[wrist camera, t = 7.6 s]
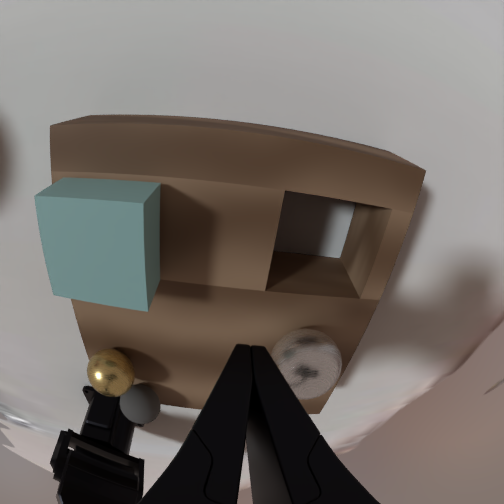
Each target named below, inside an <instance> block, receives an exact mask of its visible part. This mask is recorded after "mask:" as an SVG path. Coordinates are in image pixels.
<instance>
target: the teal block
mask: <svg viewBox="0 0 504 504" xmlns="http://www.w3.org/2000/svg"><path fill="white" fill-rule="evenodd" d="M160 187H161V183H155V182H142V181H127V180H111V179H91V178H64V177H63V178H62V179H60V180H58V181H57V182H55V183H54V184H52V185H50V186H49V187H47V188H46V189H44V190H43V191H41V192H40V193H38V194H36V195H35V205H36V212H37V219H38V225H39V231H40V237H41V242H42V247H43V252H44V257H45V262H46V266H47V271H48V275H49V279H50V283H51V287H52V290H53V294H54V295H56V296H61V297H66V298H71V299H76V300H81V301H86V302H92V303H97V304H103V305H108V306H114V307H120V308H126V309H133V310H139V311H146V312H148V311H149V308H150V305H151V303H152V300H153V297H154V295H155V292H156V289H157V287H158V284H159V281H160Z"/></svg>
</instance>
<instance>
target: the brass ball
mask: <svg viewBox="0 0 504 504" xmlns="http://www.w3.org/2000/svg"><path fill="white" fill-rule="evenodd" d="M87 374H88V379H89V381H90V383H91V385H92V386H93V388H94V389H95V390H96V391H98V392H99V393H100V394H102V395H105V396H108V397H118V396H122V395H124V394H125V393H127V392H128V391H129V390H130V389H131V387H132V385H133V383H134V379H135V371H134V367H133V364H132V362H131V361H130V359H129V358H128V357H127V356H126V355H125V354H123V353H122V352H120V351H118V350H115V349H103V350H100V351H98V352H96V353H95V354H94V355H93V356H92V357H91V359H90V360H89V363H88V367H87Z"/></svg>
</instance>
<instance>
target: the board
mask: <svg viewBox="0 0 504 504" xmlns="http://www.w3.org/2000/svg"><path fill="white" fill-rule="evenodd" d="M50 156H51V175H52V184H54V183H55V182H57V181H58V180H60V179H62V178H63V177H64V178H91V179H111V180H127V181H142V182H155V183H161V187H160V281H159V284H158V287H157V289H156V292H155V295H154V297H153V300H152V303H151V305H150V308H149V311H148V312H146V311H139V310H133V309H126V308H120V307H114V306H108V305H103V304H97V303H92V302H86V301H81V300H76V299H71V301H72V305H73V308H74V312H75V316H76V319H77V323H78V326H79V330H80V333H81V336H82V340H83V343H84V346H85V349H86V352H87V355H88V358H89V360H90V359H91V357H92V356H93V355H94V354H95V353H96V352H98V351H100V350H103V349H115V350H118V351H120V352H122V353H123V354H125V355H126V356H127V357H128V358H129V359H130V361H131V362H132V364H133V367H134V371H135V379H134V383H133V385H135V384H142V385H146V386H148V387H150V388H151V389H152V390H154V391H155V393H156V394H157V395H158V397H159V400H160V404H164V405H171V406H178V407H185V408H193V409H202V408H203V407H204V405H205V403H206V401H207V399H208V397H209V395H210V393H211V391H212V390H213V388H214V386H215V384H216V382H217V380H218V378H219V376H220V374H221V372H222V370H223V368H224V367H225V365H226V363H227V361H228V359H229V357H230V355H231V353H232V351H233V349H234V347H235V345H236V344H238V343H239V344H248V345H250V346H251V345H260V346H264V347H266V349H267V351H268V352H269V354H270V355H271V352H272V350H273V348H274V346H275V345H276V343H277V342H278V341H279V340H280V339H281V338H282V337H283V336H285V335H286V334H288V333H290V332H292V331H295V330H298V329H314V330H318V331H321V332H323V333H325V334H326V335H328V336H329V337H330V338H331V339H332V340H333V341H334V342H335V343H336V345H337V346H338V349H339V351H340V354H341V359H342V367H341V372H340V375H339V377H338V379H337V381H336V383H335V384H334V386H333V387H332V388H331V389H330V390H329V391H327V392H326V393H325V394H323V395H321V396H319V397H316V398H313V399H298V400H299V401H300V403H301V404H302V406H303V407H304V409H305V410H306V412H307V413H308V414H319V413H320V412H321V410H322V409H323V407H324V405H325V404H326V402H327V400H328V399H329V397H330V395H331V394H332V392H333V390H334V388H335V387H336V385H337V383H338V381H339V380H340V378H341V376H342V374H343V372H344V371H345V369H346V367H347V365H348V363H349V361H350V360H351V358H352V356H353V354H354V352H355V350H356V348H357V346H358V344H359V342H360V340H361V338H362V336H363V334H364V332H365V330H366V328H367V326H368V324H369V322H370V320H371V318H372V315H373V313H374V311H375V309H376V307H377V305H378V302H379V300H380V298H381V296H382V293H383V291H384V289H385V286H386V284H387V282H388V279H389V277H390V274H391V272H392V270H393V267H394V265H395V262H396V259H397V257H398V254H399V252H400V249H401V246H402V244H403V241H404V238H405V236H406V233H407V230H408V227H409V224H410V221H411V218H412V215H413V212H414V209H415V206H416V203H417V200H418V197H419V193H420V190H421V187H422V183H423V180H424V176H425V173H426V170H424V169H422V168H420V167H418V166H416V165H415V164H413V163H411V162H409V161H407V160H405V159H403V158H401V157H399V156H397V155H395V154H393V153H391V152H389V151H386V150H382V149H378V148H374V147H371V146H367V145H363V144H359V143H355V142H350V141H346V140H342V139H337V138H333V137H328V136H323V135H318V134H313V133H308V132H303V131H297V130H292V129H286V128H280V127H274V126H267V125H260V124H253V123H245V122H237V121H228V120H219V119H208V118H196V117H182V116H162V115H89V116H85V117H81V118H77V119H73V120H69V121H65V122H61V123H58V124H54V125H51V126H50ZM285 190H286V191H293V192H299V193H306V194H312V195H318V196H324V197H330V198H336V199H342V200H348V201H353V202H356V206H355V210H354V213H353V217H352V220H351V224H350V227H349V231H348V234H347V237H346V241H345V244H344V247H343V251H342V254H341V257H340V258H331V257H322V256H314V255H305V254H296V253H288V252H279V251H273V249H274V244H275V239H276V234H277V229H278V224H279V219H280V213H281V208H282V203H283V198H284V193H285Z"/></svg>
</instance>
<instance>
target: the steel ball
mask: <svg viewBox="0 0 504 504" xmlns="http://www.w3.org/2000/svg"><path fill="white" fill-rule="evenodd" d="M271 357H272V359H273V360H274V362H275V363H276V365H277V367H278V368H279V370H280V371H281V373H282V375H283V376H284V378H285V379H286V381H287V382H288V384H289V386H290V387H291V389H292V390H293V392H294V393H295V395H296V397H297V398H298V399H313V398H316V397H319V396H321V395H323V394H325V393H326V392H327V391H329V390H330V389H331V388H332V387H333V386H334V384H335V383H336V381H337V379H338V377H339V375H340V372H341V367H342V359H341V354H340V351H339V349H338V346H337V345H336V343H335V342H334V341H333V340H332V339H331V338H330V337H329V336H328V335H326V334H325V333H323V332H321V331H318V330H314V329H298V330H295V331H292V332H290V333H288V334H286V335H285V336H283V337H282V338H281V339H280V340H279V341H278V342H277V343H276V345H275V346H274V348H273V350H272V352H271Z"/></svg>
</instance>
